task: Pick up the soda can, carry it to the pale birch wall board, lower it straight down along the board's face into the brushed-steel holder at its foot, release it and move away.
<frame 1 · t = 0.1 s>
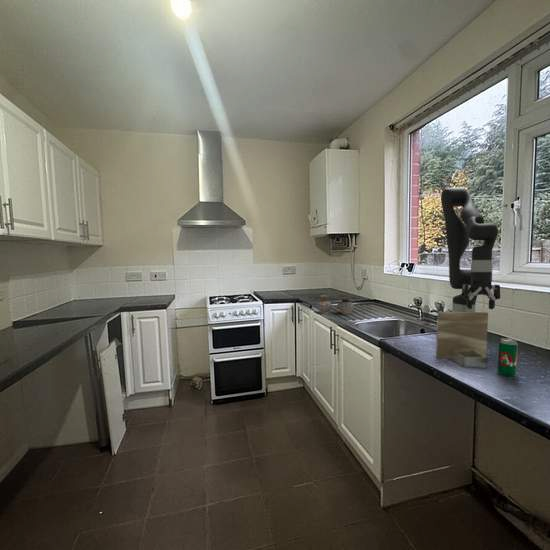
hand: (480, 308, 129), 17 cm above the counter, tool pointing down, fingers open, 8 cm apart
can holder: (468, 363, 114), on the counter
pottery: (335, 314, 205), on the counter
wall board: (460, 357, 120), on the counter
soda can: (506, 375, 103), on the counter
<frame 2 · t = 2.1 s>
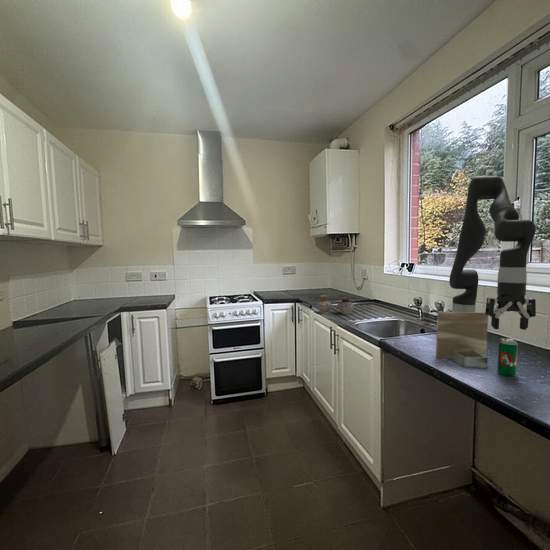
hand: (509, 329, 102), 16 cm above the counter, tool pointing down, fingers open, 8 cm apart
nothing on the counter moved.
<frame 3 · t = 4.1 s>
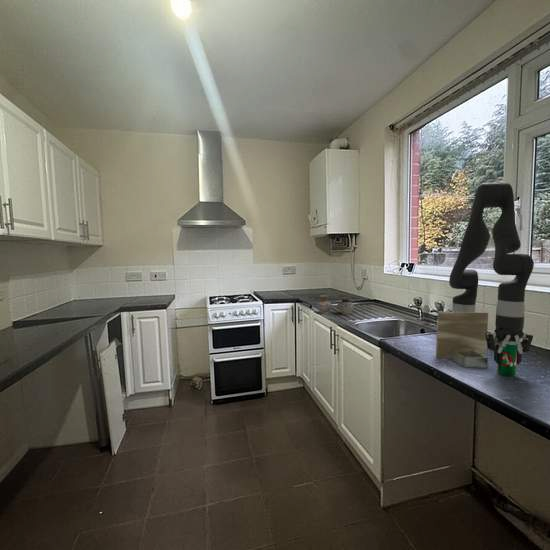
hand: (507, 363, 103), 4 cm above the counter, tool pointing down, fingers closed on soda can, 5 cm apart
soda can: (506, 375, 103), on the counter, touching gripper
everything else where it was.
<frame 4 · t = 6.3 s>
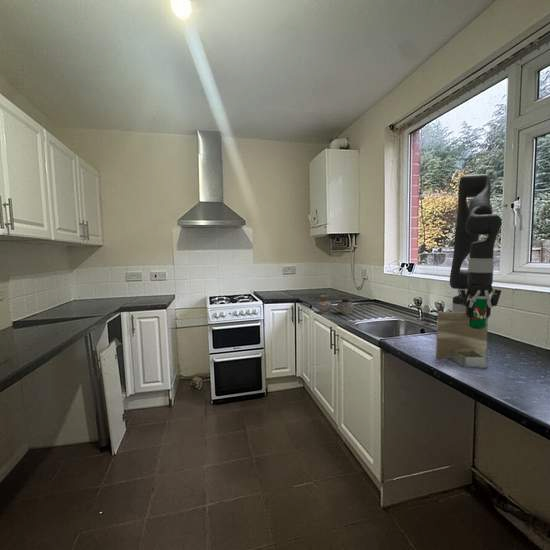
hand: (477, 317, 111), 18 cm above the counter, tool pointing down, fingers closed on soda can, 5 cm apart
soda can: (477, 328, 111), point 14 cm above the counter, touching gripper
everything else where it was.
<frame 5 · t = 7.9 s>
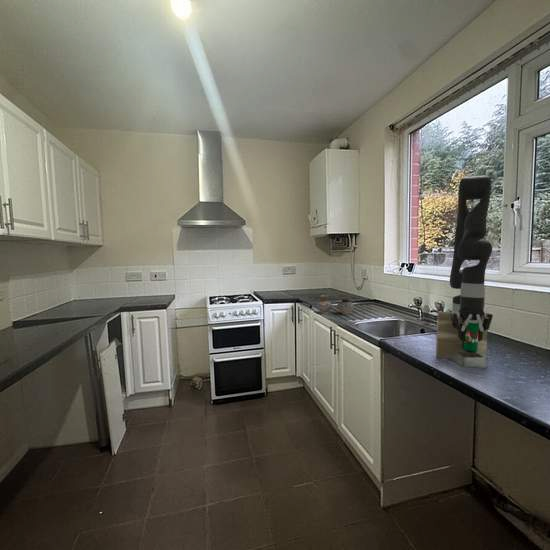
hand: (470, 340, 113), 9 cm above the counter, tool pointing down, fingers closed on soda can, 5 cm apart
soda can: (469, 351, 113), point 5 cm above the counter, touching gripper
everything else where it was.
when the fingers open (5 cm above the counter, at t = 9.0 s): soda can drops 1 cm, resting in can holder.
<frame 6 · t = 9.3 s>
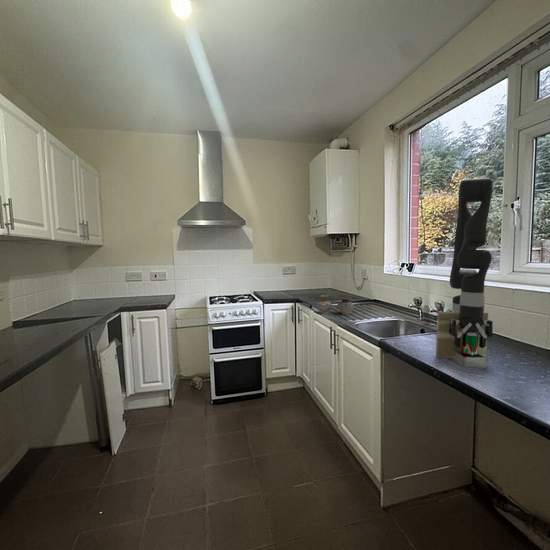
hand: (469, 347, 113), 6 cm above the counter, tool pointing down, fingers open, 8 cm apart
soda can: (468, 363, 114), resting in can holder
everything else where it was.
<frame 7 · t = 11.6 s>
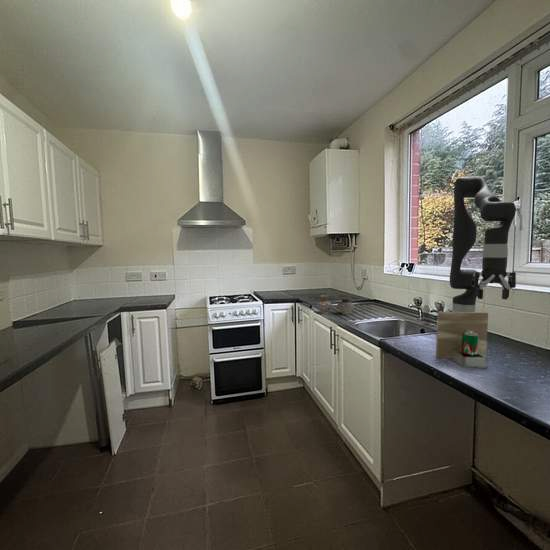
hand: (492, 299, 115), 24 cm above the counter, tool pointing down, fingers open, 8 cm apart
nothing on the counter moved.
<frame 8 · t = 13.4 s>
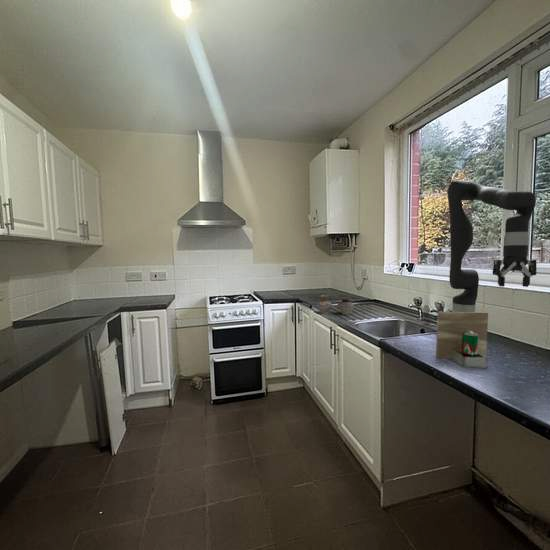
hand: (513, 286, 118), 28 cm above the counter, tool pointing down, fingers open, 8 cm apart
nothing on the counter moved.
at the end: soda can 0.9 cm from the target spot on the can holder, point 0.0 cm above the can holder's base; soda can tilted 0°; the gripper is holding nothing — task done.
